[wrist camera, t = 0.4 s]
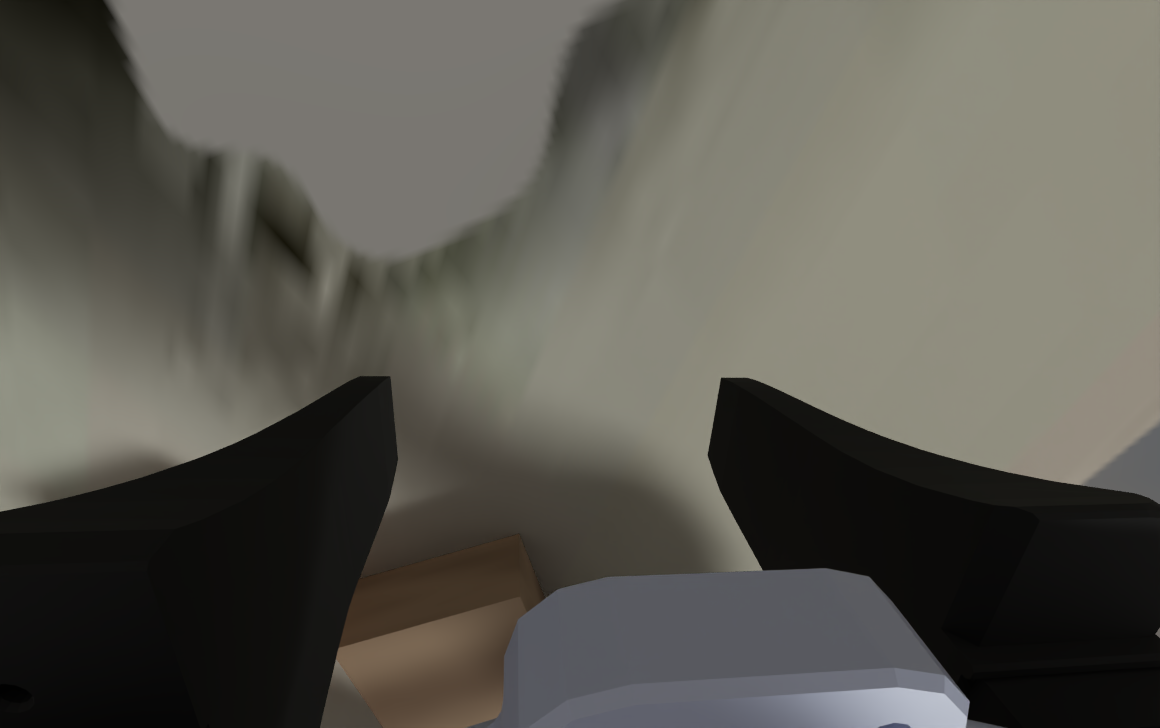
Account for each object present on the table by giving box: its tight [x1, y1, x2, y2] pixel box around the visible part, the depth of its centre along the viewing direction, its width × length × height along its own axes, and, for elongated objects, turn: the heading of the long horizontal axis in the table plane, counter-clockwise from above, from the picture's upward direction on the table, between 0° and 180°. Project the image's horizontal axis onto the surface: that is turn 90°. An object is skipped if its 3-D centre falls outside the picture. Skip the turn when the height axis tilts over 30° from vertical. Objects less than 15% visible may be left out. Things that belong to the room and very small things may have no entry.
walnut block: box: [336, 534, 545, 728], centre depth 26 cm, size 8×8×4 cm
